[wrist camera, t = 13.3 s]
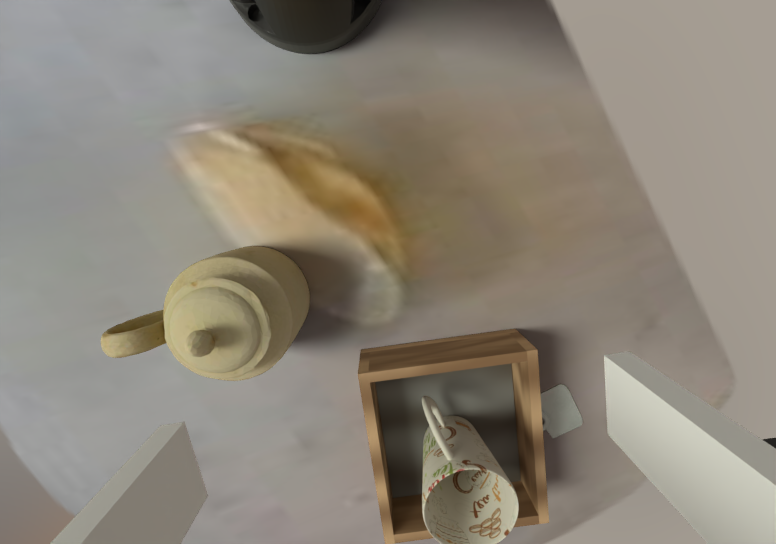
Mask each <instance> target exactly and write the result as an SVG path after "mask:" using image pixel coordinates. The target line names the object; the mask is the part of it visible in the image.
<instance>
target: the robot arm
mask: <svg viewBox="0 0 776 544" xmlns="http://www.w3.org/2000/svg"><path fill="white" fill-rule="evenodd" d="M381 1H382V0H230V2H231V4H232V5H233V6H234V8H235V9H236V10H237V12H238V13H239V14H240V16H241V17H242V19H243V20H244V21H245V22H246V23H247V25H248V26H249V27H250V28H251V29H252V30H253V31H254V32H256V33H257V34H258V35H259V36H260V37H262V38H263V39H265V40H266V41H268V42H269V43H271V44H273V45H275V46H277V47H279V48H282V49H285V50H288V51H292V52H297V53H307V54H309V53H321V52H326V51H330V50H333V49H336V48H338V47H340V46H342V45H344V44H346V43H348V42H349V41H351V40H352V39H354V38H355V37H356V36H357V35H358V34H360V33H361V32H362V31H363V30H364V29H365V27H366V26H367V25H368V24H369V23H370V21H371V20H372V18H373V17H374V15H375V14H376V12H377V10H378V8H379V6H380V4H381ZM604 365H605V387H606V409H607V430H608V435H609V436H610V437H611V438H612V439H613V440H614V442H615V443H616V444H617V445H618V446H619V447H620V448H621V449H622V450H623V451H624V453H625V454H626V455H627V456H628V457H629V458H630V459H631V460H632V461H633V462H634V464H635V465H636V466H637V467H638V468H639V469H640V470H641V471H642V472H643V473H644V475H645V476H646V477H647V478H648V479H649V480H650V481H651V482H652V483H653V484H654V485H655V486H656V488H657V489H658V490H659V491H660V492H661V493H662V494H663V495H664V496H665V497H666V499H667V500H668V501H669V502H670V503H671V504H672V505H673V506H674V507H675V508H676V510H677V511H678V512H679V513H680V514H681V515H682V516H683V517H684V518H685V520H686V521H687V522H688V523H689V524H690V525H691V526H692V527H693V528H694V529H695V530H696V532H697V533H698V534H699V535H700V536H701V537H702V538H703V539H704V540H705V541H706V543H707V544H776V438H770V439H764V440H762V439H760V438H759V437H757V436H756V435H754V434H753V433H751V432H750V431H748V430H747V429H745V428H744V427H742V426H741V425H739V424H738V423H736V422H735V421H733V420H732V419H730V418H729V417H727V416H726V415H724V414H723V413H721V412H720V411H718V410H717V409H715V408H714V407H712V406H711V405H709V404H708V403H706V402H705V401H703V400H702V399H700V398H699V397H697V396H696V395H694V394H693V393H691V392H690V391H688V390H687V389H685V388H684V387H682V386H681V385H679V384H678V383H676V382H675V381H673V380H672V379H670V378H669V377H667V376H666V375H664V374H663V373H661V372H660V371H658V370H657V369H655V368H654V367H652V366H651V365H649V364H648V363H646V362H645V361H643V360H642V359H640V358H639V357H637V356H636V355H634V354H633V353H631V352H630V351H628V352H621V353H615V354H609V355H604ZM207 496H208V494H207V491H206V488H205V484H204V481H203V478H202V475H201V472H200V469H199V466H198V463H197V460H196V456H195V453H194V450H193V447H192V444H191V441H190V438H189V435H188V431H187V428H186V425H185V422H180V423H174V424H167V425H161V426H160V427H159V428H158V429H157V430H156V431H155V432H154V433H153V434H152V435H151V436H150V437H149V439H148V440H147V441H146V442H145V443H144V444H143V445H142V446H141V447H140V448H139V449H138V450H137V451H136V452H135V453H134V455H133V456H132V457H131V458H130V459H129V460H128V461H127V462H126V463H125V464H124V465H123V466H122V467H121V468H120V469H119V471H118V472H117V473H116V474H115V475H114V476H113V477H112V478H111V479H110V480H109V481H108V482H107V483H106V484H105V485H104V487H103V488H102V489H101V490H100V491H99V492H98V493H97V494H96V495H95V496H94V497H93V498H92V499H91V500H90V501H89V503H88V504H87V505H86V506H85V507H84V508H83V509H82V510H81V511H80V512H79V513H78V514H77V515H76V516H75V517H74V519H73V520H72V521H71V522H70V523H69V524H68V525H67V526H66V527H65V528H64V529H63V530H62V531H61V532H60V534H59V535H58V536H57V537H56V538H55V539H54V540H53V541H52V542H51V543H50V544H181V542H182V540H183V538H184V537H185V535H186V533H187V531H188V530H189V528H190V526H191V524H192V523H193V521H194V519H195V517H196V516H197V514H198V512H199V510H200V509H201V507H202V505H203V503H204V502H205V500H206V498H207Z"/></svg>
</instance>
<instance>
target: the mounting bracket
mask: <svg viewBox="0 0 776 544" xmlns="http://www.w3.org/2000/svg"><path fill="white" fill-rule="evenodd" d="M540 395H541V410H542V425H543V431H545V430H547V431H548V432H549V434H550V435H551V436H552V438H553V439H554V438H556V437H558V436H560V435H562V434H564V433H567V432H569V431H571V430H573V429H575V428H577V427H579V426H581V424H582V417H581V415H580V412H579V410H578V408H577V406H576V404H575V402H574V400H573V398H572V396H571V394H570V392H569V390H568V388H567V387H566V386H565V385H563V384H559V385H557V386H555V387H553V388H551V389H549V390H547V391H545V392H543V393H541V394H540Z"/></svg>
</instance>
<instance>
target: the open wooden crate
mask: <svg viewBox="0 0 776 544" xmlns="http://www.w3.org/2000/svg"><path fill="white" fill-rule="evenodd" d="M358 379H359V385H360V391H361V397H362V403H363V409H364V416H365V422H366V428H367V434H368V440H369V447H370V453H371V459H372V465H373V471H374V478H375V484H376V490H377V496H378V502H379V508H380V515H381V521H382V527H383V533H384V539H385V544H392V543H400V542H407V541H415V540H422V539H430V538H434V537H433V536H432V535H431V534H430V532H429V531H428V529H427V527H426V525H425V522H424V519H423V513H422V481H423V440H424V435H425V432H426V430H427V428H428V427H429V423H428V421H427V418H426V415H425V412H424V409H423V406H422V397H423V396H429V397H430V398H431V399H433V400H434V401H435V402H436V404H437V406H438V408H439V410H440V412H441V414H442V416H443V417H444V416H459V417H462V418H464V419H466V420H467V421H469V422H470V423H471V424H472V425H473V427H474V428H475V429H476V431H477V432H478V434H479V435H480V437H481V438H482V440H483V441H484V443H485V444H486V446H487V447H488V449H489V450H490V452H491V453H492V455H493V456H494V458H495V459H496V461H497V462H498V464H499V465H500V467H501V468H502V470H503V471H504V473H505V474H506V476H507V477H508V479H509V480H510V482H511V484H512V485H513V487H514V489H515V491H516V494H517V497H518V502H519V512H518V517H517V520H516V523H515V525H514V527H520V526H527V525H535V524H542V523H549V515H548V500H547V485H546V470H545V455H544V440H543V425H542V410H541V395H540V380H539V364H538V350H537V349H536V348H535V347H534V346H533V345H532V344H531V343H530V342H529V341H528V340H527V339H526V338H525V337H523V336H522V335H521V334H520V333H519V332H518V331H517V330H516V329H509V330H502V331H494V332H487V333H480V334H472V335H465V336H458V337H450V338H443V339H435V340H428V341H421V342H413V343H406V344H399V345H391V346H384V347H377V348H369V349H362V350H361V354H360V361H359V369H358ZM434 417H435V415H434ZM435 419H436V420H437V418H436V417H435Z"/></svg>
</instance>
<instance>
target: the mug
mask: <svg viewBox="0 0 776 544" xmlns="http://www.w3.org/2000/svg"><path fill="white" fill-rule="evenodd" d="M422 406H423V409H424V412H425V415H426V418H427V421H428V423H429V427H428V428H427V430H426V432H425V435H424V440H423V481H422V513H423V519H424V522H425V525H426V527H427V529H428V531H429V532H430V534H431V535H432V536H433V537H434V538H435V539H436V540H437V541H438V542H439V543H441V544H497V543H498V542H500V541H501V540H502V539H504V538H505V537H506V536H507V535H508V534H509V532H510V531H511V530H512V528H513V527H514V525H515V523H516V520H517V517H518V512H519V502H518V497H517V494H516V491H515V489H514V487H513V485H512V484H511V482H510V480H509V479H508V477H507V476H506V474H505V473H504V471H503V470H502V468H501V467H500V465H499V464H498V462H497V461H496V459H495V458H494V456H493V455H492V453H491V452H490V450H489V449H488V447H487V446H486V444H485V443H484V441H483V440H482V438H481V437H480V435H479V434H478V432H477V431H476V429H475V428H474V427H473V425H472V424H471V423H470V422H469V421H467V420H466V419H464V418H462V417H459V416H444V417H443V416H442V414H441V412H440V410H439V408H438V406H437V404H436V402H435V401H434V400H433V399H431V398H430V397H429V396H423V397H422ZM434 415H435V417H436V418H437V420H436V419H435V417H434Z"/></svg>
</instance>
